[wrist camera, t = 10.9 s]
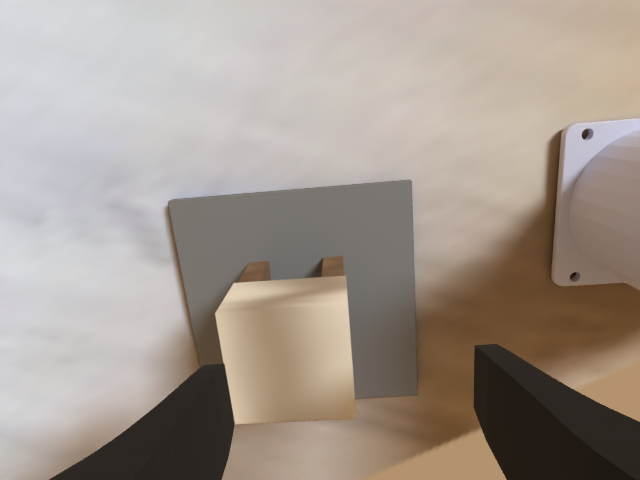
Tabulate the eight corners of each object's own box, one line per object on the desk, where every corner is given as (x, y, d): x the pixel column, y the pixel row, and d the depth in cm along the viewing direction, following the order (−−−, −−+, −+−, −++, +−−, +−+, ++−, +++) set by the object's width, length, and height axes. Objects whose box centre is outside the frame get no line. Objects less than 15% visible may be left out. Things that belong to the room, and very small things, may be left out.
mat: (409, 179, 21) (411, 181, 20) (415, 388, 24) (417, 395, 23) (172, 199, 21) (167, 201, 21) (210, 399, 25) (207, 406, 24)
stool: (344, 254, 21) (347, 305, 15) (351, 341, 23) (356, 418, 17) (247, 260, 21) (214, 313, 16) (259, 346, 23) (234, 424, 17)
